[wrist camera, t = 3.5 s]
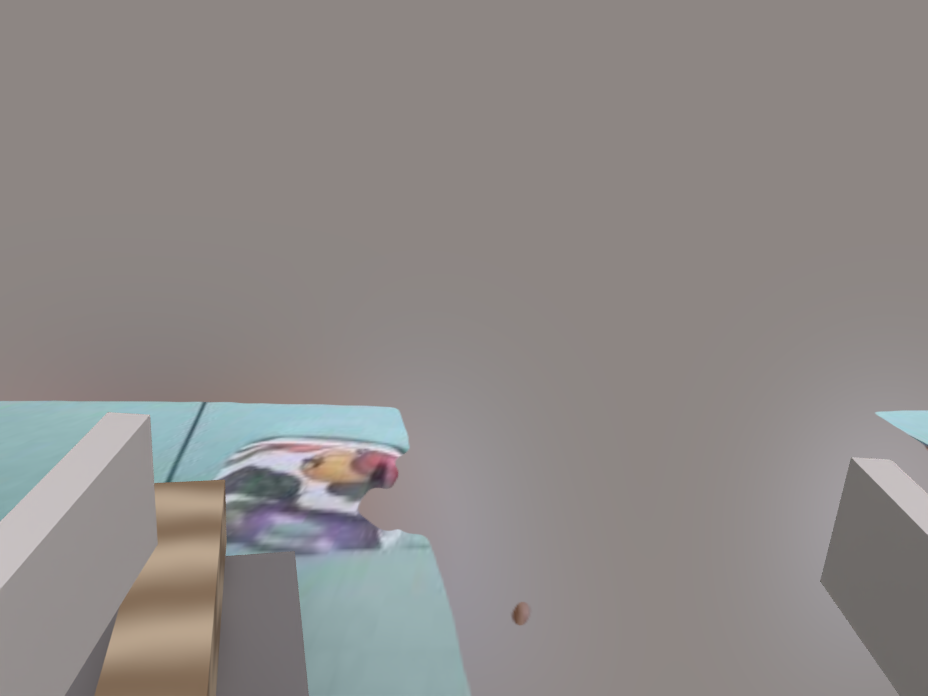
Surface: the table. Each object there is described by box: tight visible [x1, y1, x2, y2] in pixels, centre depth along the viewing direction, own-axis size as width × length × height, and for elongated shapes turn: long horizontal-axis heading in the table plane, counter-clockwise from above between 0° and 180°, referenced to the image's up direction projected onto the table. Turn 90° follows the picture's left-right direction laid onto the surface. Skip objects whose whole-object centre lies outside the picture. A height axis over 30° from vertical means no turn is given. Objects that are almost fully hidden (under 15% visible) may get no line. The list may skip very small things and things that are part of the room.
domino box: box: [94, 480, 226, 696], centre depth 38 cm, size 26×4×4 cm, turn 14°
